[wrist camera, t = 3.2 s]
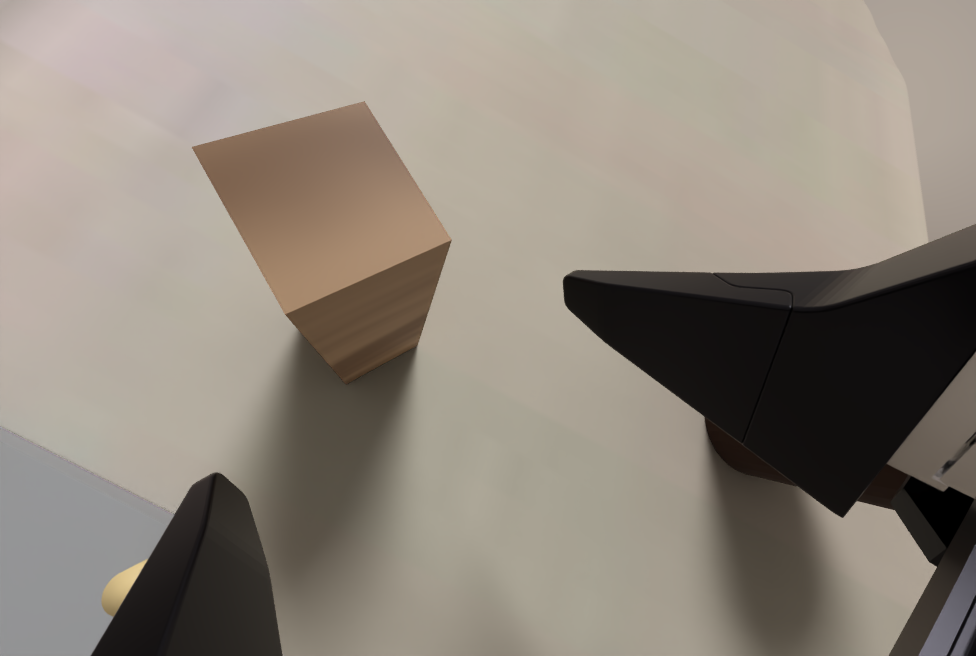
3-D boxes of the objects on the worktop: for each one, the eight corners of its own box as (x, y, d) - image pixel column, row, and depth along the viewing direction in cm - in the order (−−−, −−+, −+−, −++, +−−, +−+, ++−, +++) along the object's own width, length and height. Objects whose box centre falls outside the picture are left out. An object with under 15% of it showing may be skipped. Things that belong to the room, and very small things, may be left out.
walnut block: (417, 345, 20) (451, 239, 9) (346, 384, 19) (285, 314, 8) (377, 278, 21) (364, 101, 10) (304, 311, 19) (191, 147, 8)
